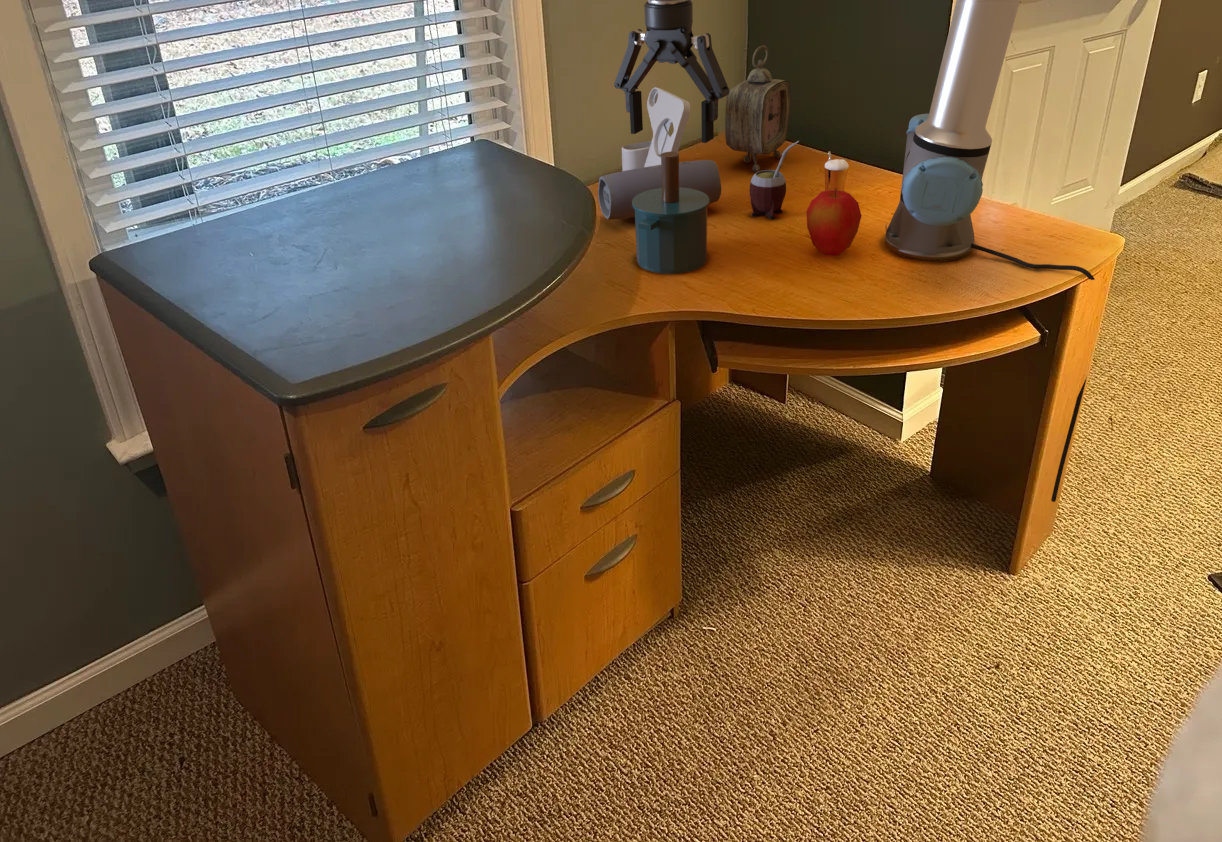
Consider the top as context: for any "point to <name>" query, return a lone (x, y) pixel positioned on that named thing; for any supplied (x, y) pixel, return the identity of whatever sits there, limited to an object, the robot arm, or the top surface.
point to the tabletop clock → (758, 113)
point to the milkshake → (835, 174)
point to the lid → (670, 194)
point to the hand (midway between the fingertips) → (671, 136)
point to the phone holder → (658, 130)
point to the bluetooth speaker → (653, 185)
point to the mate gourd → (768, 190)
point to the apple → (833, 221)
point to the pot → (671, 242)
